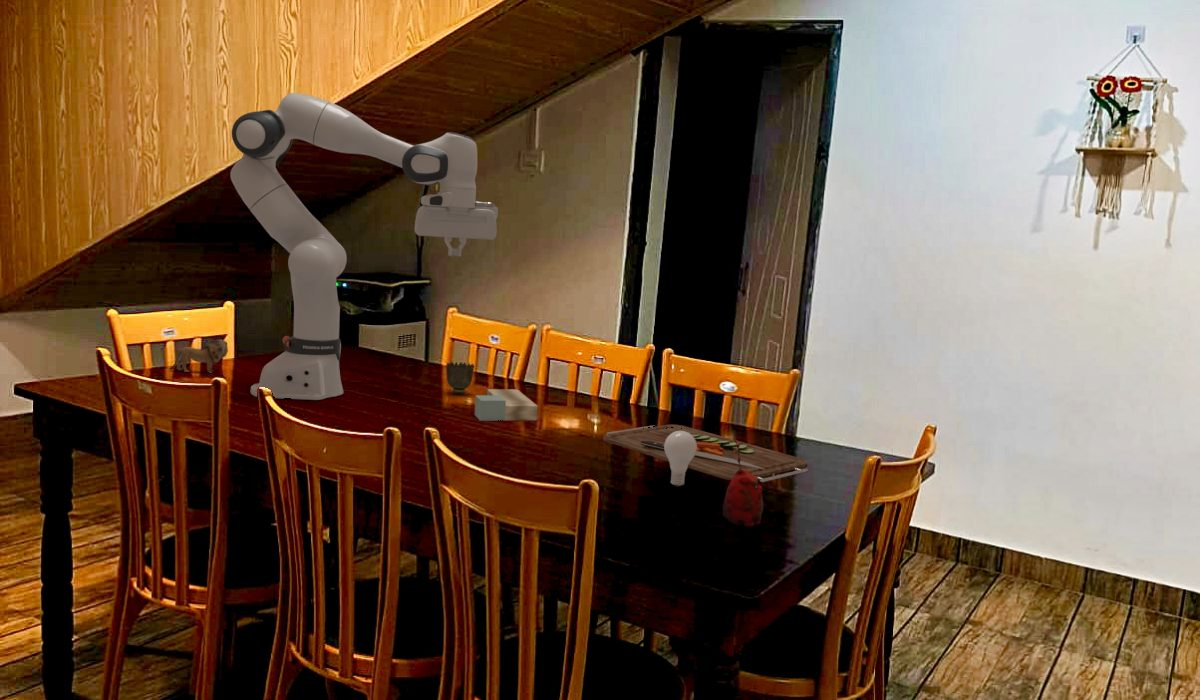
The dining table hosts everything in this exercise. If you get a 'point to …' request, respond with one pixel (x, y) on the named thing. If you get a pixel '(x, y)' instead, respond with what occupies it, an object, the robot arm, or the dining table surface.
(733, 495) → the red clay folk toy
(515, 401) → the board
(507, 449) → the dining table surface
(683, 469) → the lightbulb
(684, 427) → the chopping board
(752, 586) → the dining table surface
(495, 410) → the block
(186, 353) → the lion figurine
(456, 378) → the cup
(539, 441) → the dining table surface
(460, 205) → the robot arm
